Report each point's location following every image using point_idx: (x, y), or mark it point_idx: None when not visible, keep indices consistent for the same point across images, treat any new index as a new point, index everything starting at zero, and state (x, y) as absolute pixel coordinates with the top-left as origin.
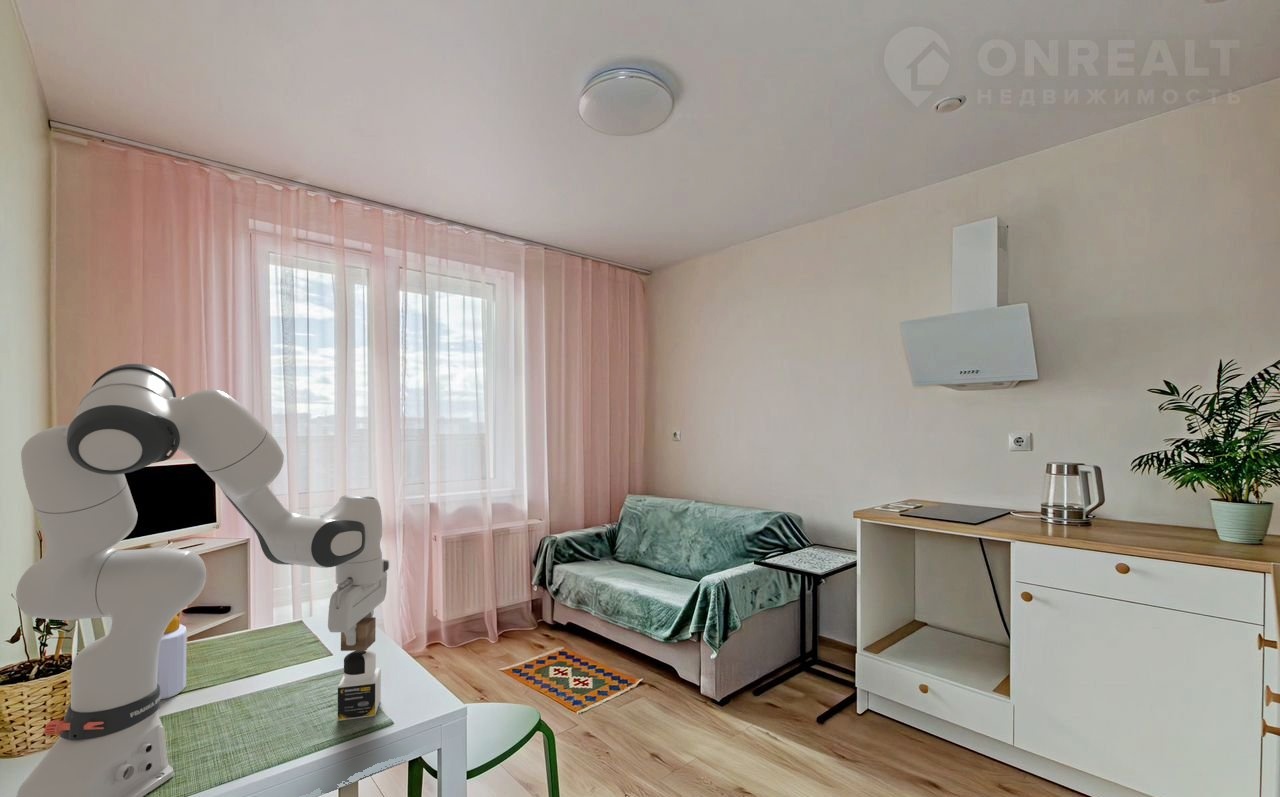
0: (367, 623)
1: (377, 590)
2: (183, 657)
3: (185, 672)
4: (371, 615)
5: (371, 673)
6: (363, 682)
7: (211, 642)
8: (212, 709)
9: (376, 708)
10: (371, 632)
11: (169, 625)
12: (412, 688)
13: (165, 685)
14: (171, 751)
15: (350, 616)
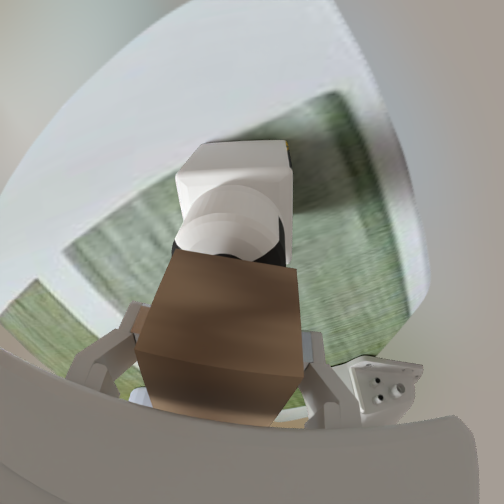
0: (255, 376)
1: (17, 465)
2: None
3: (145, 400)
4: (99, 357)
5: (259, 192)
6: (287, 204)
7: (61, 374)
8: None
9: (269, 141)
10: (215, 303)
11: None
12: (146, 81)
13: None
14: None
15: (452, 475)
